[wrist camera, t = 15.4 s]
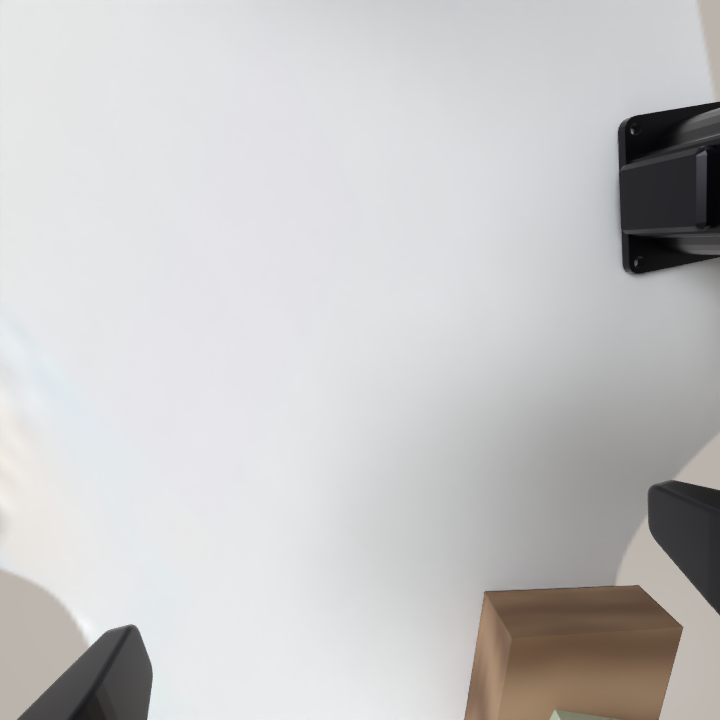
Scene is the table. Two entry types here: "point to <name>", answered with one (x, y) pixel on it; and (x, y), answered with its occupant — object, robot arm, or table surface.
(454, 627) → the table surface
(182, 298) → the table surface
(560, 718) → the block
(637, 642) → the plinth
